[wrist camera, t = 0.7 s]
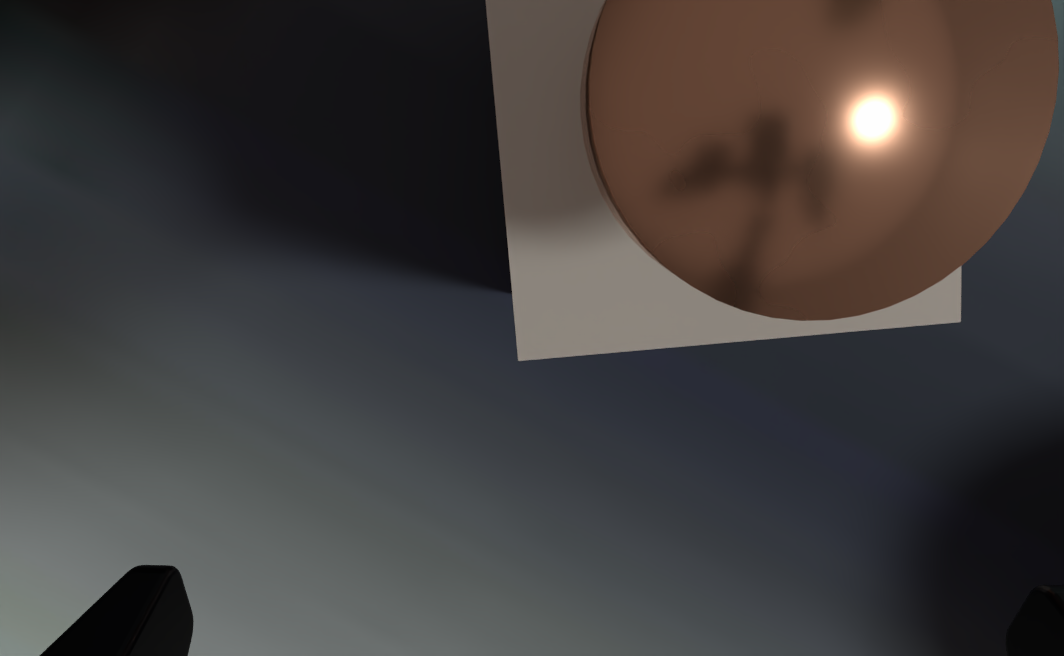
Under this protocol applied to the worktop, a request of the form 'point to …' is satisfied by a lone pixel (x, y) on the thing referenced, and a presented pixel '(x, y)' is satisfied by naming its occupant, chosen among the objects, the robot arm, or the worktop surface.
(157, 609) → the robot arm
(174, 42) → the worktop surface
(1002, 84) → the plunger
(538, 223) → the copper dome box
